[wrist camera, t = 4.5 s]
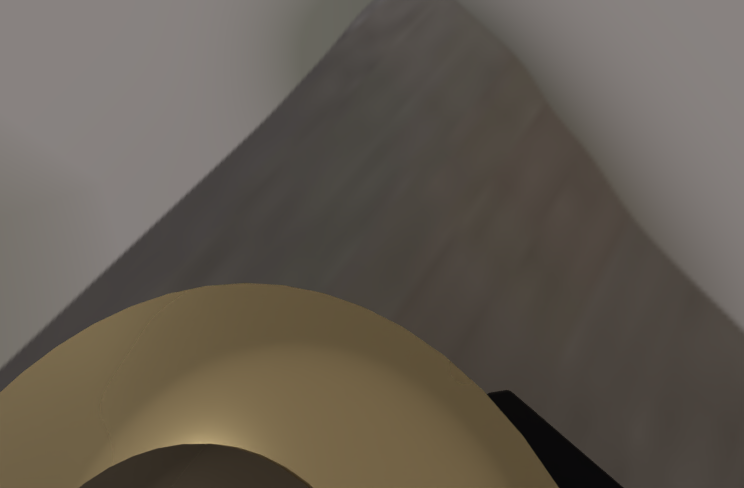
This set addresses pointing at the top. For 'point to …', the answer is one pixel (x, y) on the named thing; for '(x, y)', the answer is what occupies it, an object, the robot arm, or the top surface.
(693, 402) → the top surface
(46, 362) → the tan piece
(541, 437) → the robot arm
